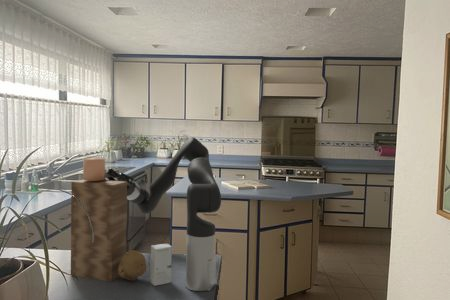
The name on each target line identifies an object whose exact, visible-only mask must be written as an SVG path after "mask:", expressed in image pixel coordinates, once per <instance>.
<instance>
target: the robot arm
mask: <svg viewBox="0 0 450 300" xmlns="http://www.w3.org/2000/svg"><path fill="white" fill-rule="evenodd" d="M183 158H185V159H186V160H188V161H189V162H188V165H187V177H188V179H189V180H188V181H189V182H190V183H191V184H189V185H188V187H187V190H186V247H185V248H186V249H185V251H186V252H185V280H184V281H185V285H184V286H185V288H187V289H188V290H191V291H194V292H204V291H209V292H210V291H211V290H212V289H213V287H214V286H215V285H216V281H217V280H216V279H217V254H215V249H216V244H215V243H216V225H215V224H214V223H213V222H211V221H208V220H205V219H202V217H200V216H198V214H205V213H208V214H209V213H211V214H212V213H216V212H218V211H219V210H220V208H221V204H222V194H221V191H220V187H219V185H218V184H217V181H216V179H215V177H214V173H213V169H212V166H211V163H210V155H209V150H208V148H207V147H206V146H205V145H204V144H203V143H202V142H201V141H199V140H198V139H197V138H196V137H190V138H188V139H187V140H186V141H185V142H184V143H183V144H181V146H180V148H179V149H178V150H177V151H176V152H175V154H174V156H173V157H172V158H171V160H170V161H169V163H168V164H167V165H166V167H165V168H164V169H163V170H162V172H161V173H160V174H159V175H157V177H156V178H154V180H153V181H152V182H151V183H150V185H149V190H150V192H149V191H147V190H146V189H145V188H142V187H141V186H140V185H139V184H138V183H137V182H136V181H135V179H134V178H135V177H134V178H133V177H131V176H129V175H127V174H125V173H123V172H121V173H120V172H119V173H118V172H115V171H114V170H115V169H113V168H111V167H110V168H108V174H109V175H110V176H111V177H108V178H105V180H111V181H124V182H127V201H129V202H131V203H132V204H136V205H137V208H138V209H139V210H140V212H141V213H142V214H144V215H145V214H147V215H148V214H150V213H152V212H153V211H154V210H155V209H156V208H157V206H158V204H159V203H160V200H161V199H162V197H163V195H164V194H165V193H166V192H167V191H168V190H169V189H170V188H171V187H172V185H173V184H174V182H175V180H176V176H177V172H178V167H179V164H180V162H181V160H182V159H183ZM105 171H107V169H105Z"/></svg>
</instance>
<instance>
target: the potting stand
mask: <svg viewBox="0 0 450 300" xmlns="http://www.w3.org/2000/svg"><path fill="white" fill-rule="evenodd" d="M70 189H71V190H70V191H71V194H72V195H74V196H75V197H76V198H77V199H79V200H80V202H81V204H82V205H83V206H84V207H85V209H86V210H87V212H88V214H89V216H90V219H91V223H92V227H93V232H94V242H93V243H92V235H91V228H90V222H89V219H88V216H87V214H86V212H85V211H84V209H83V208H82V207H81V205H80V203H79V201H78V200H77V199H76V198H75V197H73V196H71V195H70V196H71V197H70V200H71V201H70V202H71V203H70V206H71V208H70V209H71V210H70V276H73V277H74V276H75V277H81V278H87V279H92V280H98V281H105V282H110V283H111V282H114V281H115V280H116V279H118V278H119V277H120V276H119V274H118V267H119V264H120V261H121V258H122V257H123V255H124V254H125V253H126V252H127V222H128V221H127V219H128V218H127V217H128V215H127V214H128V212H127V211H128V210H127V209H128V199H127V182H124V181H111V180H99V181H87V180H83V179H79V180H72V181H71V186H70Z"/></svg>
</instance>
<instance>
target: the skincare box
mask: <svg viewBox="0 0 450 300" xmlns="http://www.w3.org/2000/svg"><path fill="white" fill-rule="evenodd" d="M172 254H173V246H172V245H170V244H169V243H160V244H154V245H153V244H152V245H150V259H149V260H150V261H149V262H150V263H149V265H150V267H149V282H150V283H151V285H153V286H160V285H161V286H162V285H165V284H171V282H172V263H173V262H172V260H173V255H172Z"/></svg>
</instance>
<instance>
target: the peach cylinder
mask: <svg viewBox="0 0 450 300" xmlns="http://www.w3.org/2000/svg"><path fill="white" fill-rule="evenodd" d="M82 159H83V160H82V164H83V165H82V166H83V168H82V170H83V172H82V177H83V178H82V180H87V181H99V180H105V178H108V177H111V176H110V175H109V174H108V170H109V169H108V170H107V169H106V158H103V157H88V158H87V157H86V158H82ZM105 170H106V171H105ZM113 170H114V171H115V172H118V173H119V174H120V170H119V169H113Z"/></svg>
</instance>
